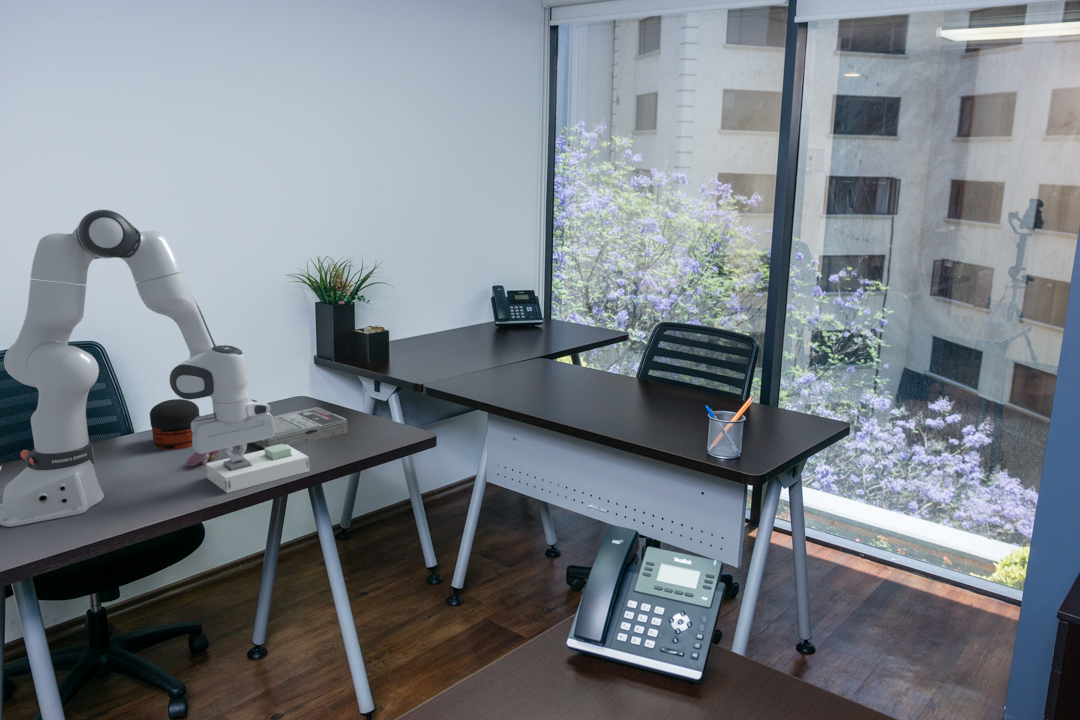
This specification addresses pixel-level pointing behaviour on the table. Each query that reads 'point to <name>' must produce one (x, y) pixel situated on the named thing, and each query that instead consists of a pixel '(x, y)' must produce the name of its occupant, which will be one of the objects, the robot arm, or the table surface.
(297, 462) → the key panel
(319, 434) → the hard drive
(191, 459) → the video game controller
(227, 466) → the grey key
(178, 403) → the oil filter
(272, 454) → the sage key
